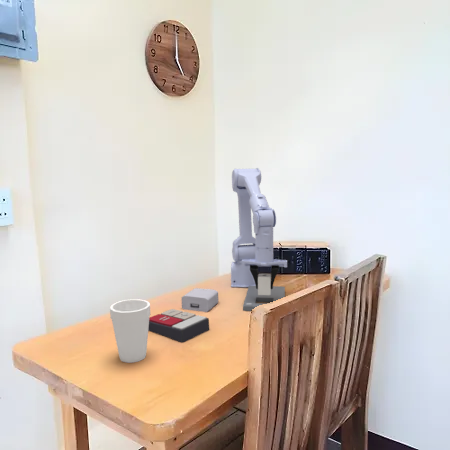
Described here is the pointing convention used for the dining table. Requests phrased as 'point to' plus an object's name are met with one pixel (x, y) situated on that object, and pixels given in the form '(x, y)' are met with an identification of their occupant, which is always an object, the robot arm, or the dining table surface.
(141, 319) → the foam cup
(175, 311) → the black button box
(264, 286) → the charger
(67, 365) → the dining table surface
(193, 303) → the charger
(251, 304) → the socket board
